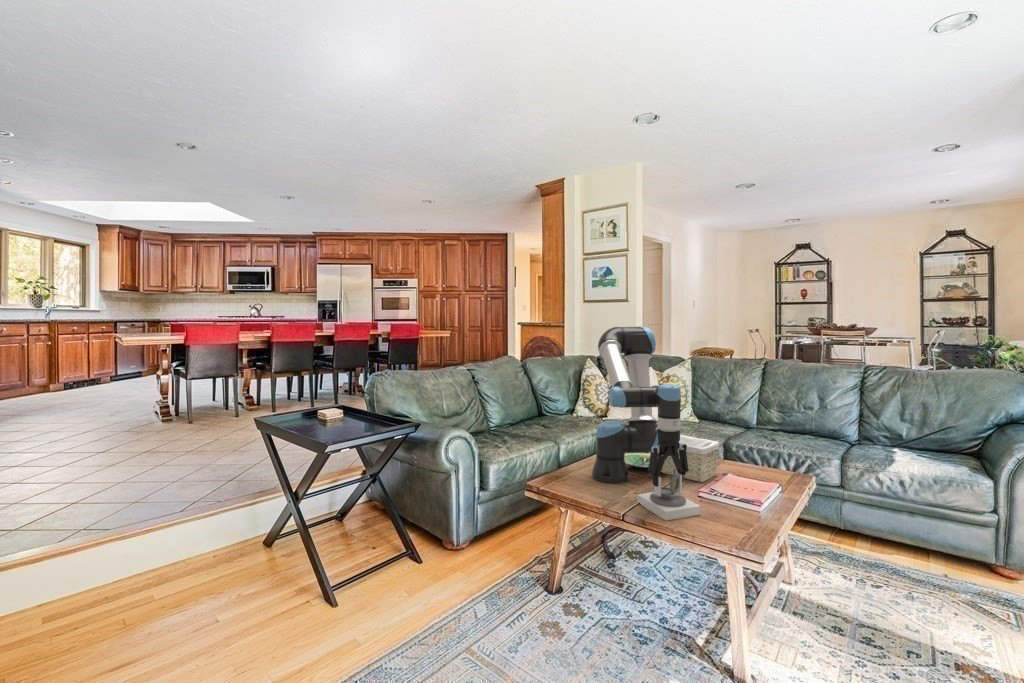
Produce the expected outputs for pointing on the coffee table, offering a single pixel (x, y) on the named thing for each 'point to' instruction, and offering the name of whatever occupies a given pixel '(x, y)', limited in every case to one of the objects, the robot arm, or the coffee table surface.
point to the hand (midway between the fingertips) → (668, 493)
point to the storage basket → (696, 459)
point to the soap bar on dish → (669, 505)
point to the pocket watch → (671, 485)
